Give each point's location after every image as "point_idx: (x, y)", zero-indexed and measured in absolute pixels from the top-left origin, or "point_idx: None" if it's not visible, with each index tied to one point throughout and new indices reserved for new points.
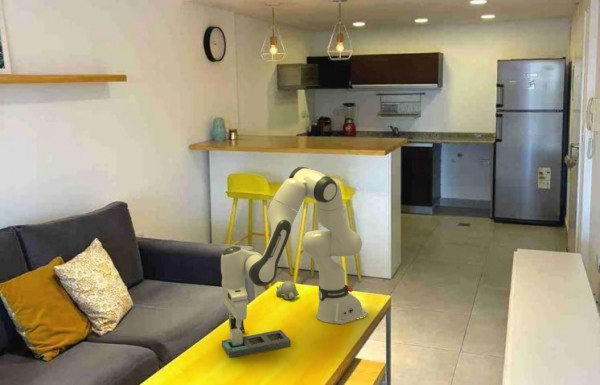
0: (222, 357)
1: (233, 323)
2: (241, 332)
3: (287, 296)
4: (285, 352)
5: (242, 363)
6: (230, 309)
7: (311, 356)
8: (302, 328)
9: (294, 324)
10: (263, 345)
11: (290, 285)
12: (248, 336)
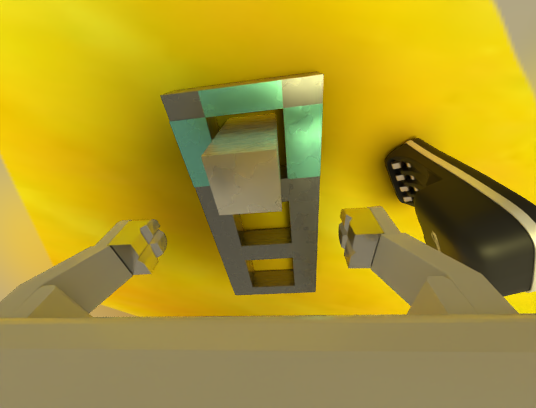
0: (188, 52)
1: (428, 185)
2: (219, 210)
3: None
4: (203, 264)
5: (126, 140)
6: (144, 387)
7: (174, 296)
8: (326, 311)
9: (359, 306)
10: (214, 237)
11: None
12: (310, 209)
